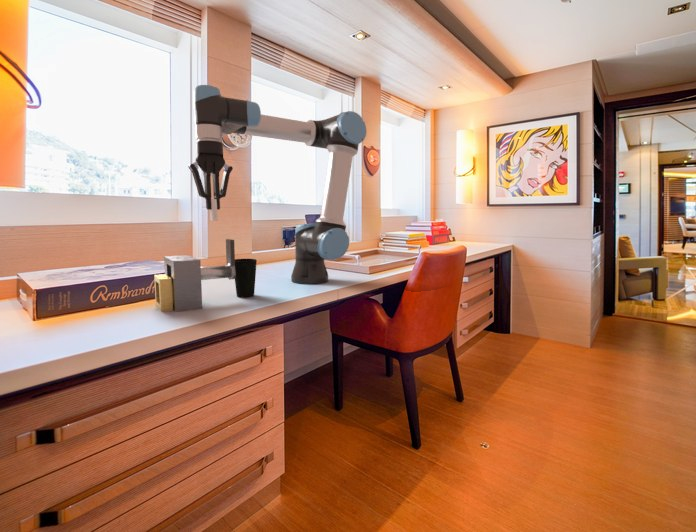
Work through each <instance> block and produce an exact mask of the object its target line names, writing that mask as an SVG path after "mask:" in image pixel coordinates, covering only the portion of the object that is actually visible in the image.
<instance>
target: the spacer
mask: <svg viewBox="0 0 696 532" xmlns="http://www.w3.org/2000/svg"><path fill="white" fill-rule="evenodd" d="M153 278H154V296H155V297H154V299H155V306H156V307H157V309H158V310H159V311H160V312H161V313H162V312H168V311H173V310H174V309H173V299H172V278H170V277H169V276H167V275H166V274H165V273H163V274H162V273H161V274H160V273H159V274H154V277H153Z"/></svg>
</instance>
